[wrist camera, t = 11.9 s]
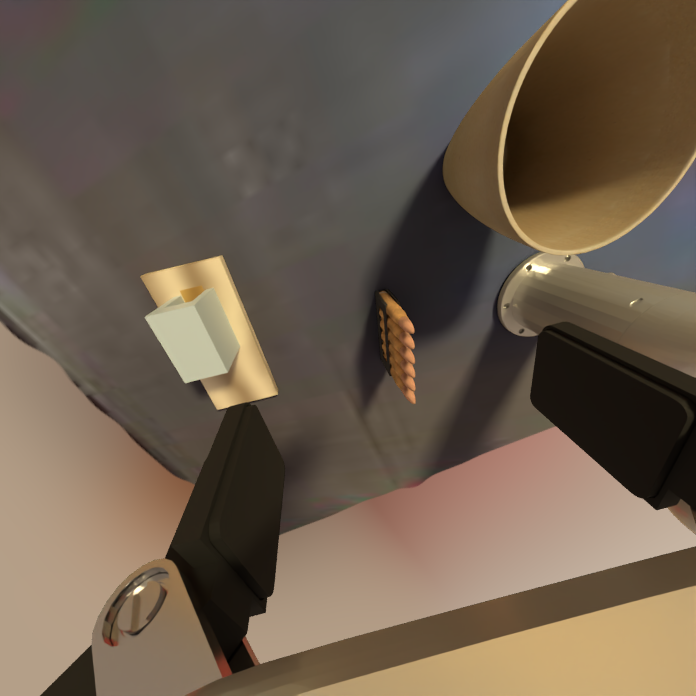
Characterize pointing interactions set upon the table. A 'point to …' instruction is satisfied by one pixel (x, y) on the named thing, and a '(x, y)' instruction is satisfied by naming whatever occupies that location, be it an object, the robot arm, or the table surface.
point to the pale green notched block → (195, 335)
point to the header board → (249, 363)
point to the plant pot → (582, 126)
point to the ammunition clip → (396, 342)
